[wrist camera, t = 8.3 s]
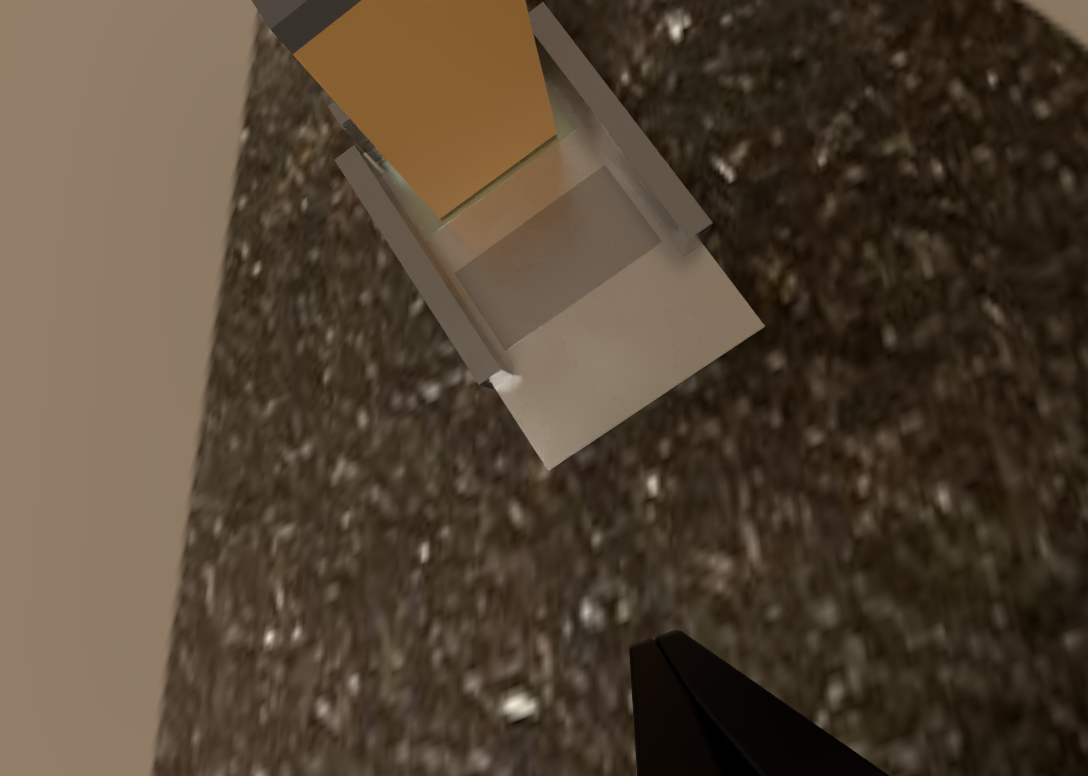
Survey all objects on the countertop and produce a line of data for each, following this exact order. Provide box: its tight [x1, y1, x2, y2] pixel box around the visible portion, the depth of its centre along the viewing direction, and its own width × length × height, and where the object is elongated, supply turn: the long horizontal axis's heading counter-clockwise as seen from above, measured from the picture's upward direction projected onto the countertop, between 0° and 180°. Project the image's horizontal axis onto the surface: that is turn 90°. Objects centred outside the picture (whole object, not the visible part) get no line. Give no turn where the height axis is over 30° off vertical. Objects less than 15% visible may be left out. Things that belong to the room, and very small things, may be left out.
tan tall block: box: [252, 0, 557, 219], centre depth 17 cm, size 3×6×11 cm, turn 124°
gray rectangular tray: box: [328, 2, 765, 471], centre depth 21 cm, size 16×10×4 cm, turn 34°
